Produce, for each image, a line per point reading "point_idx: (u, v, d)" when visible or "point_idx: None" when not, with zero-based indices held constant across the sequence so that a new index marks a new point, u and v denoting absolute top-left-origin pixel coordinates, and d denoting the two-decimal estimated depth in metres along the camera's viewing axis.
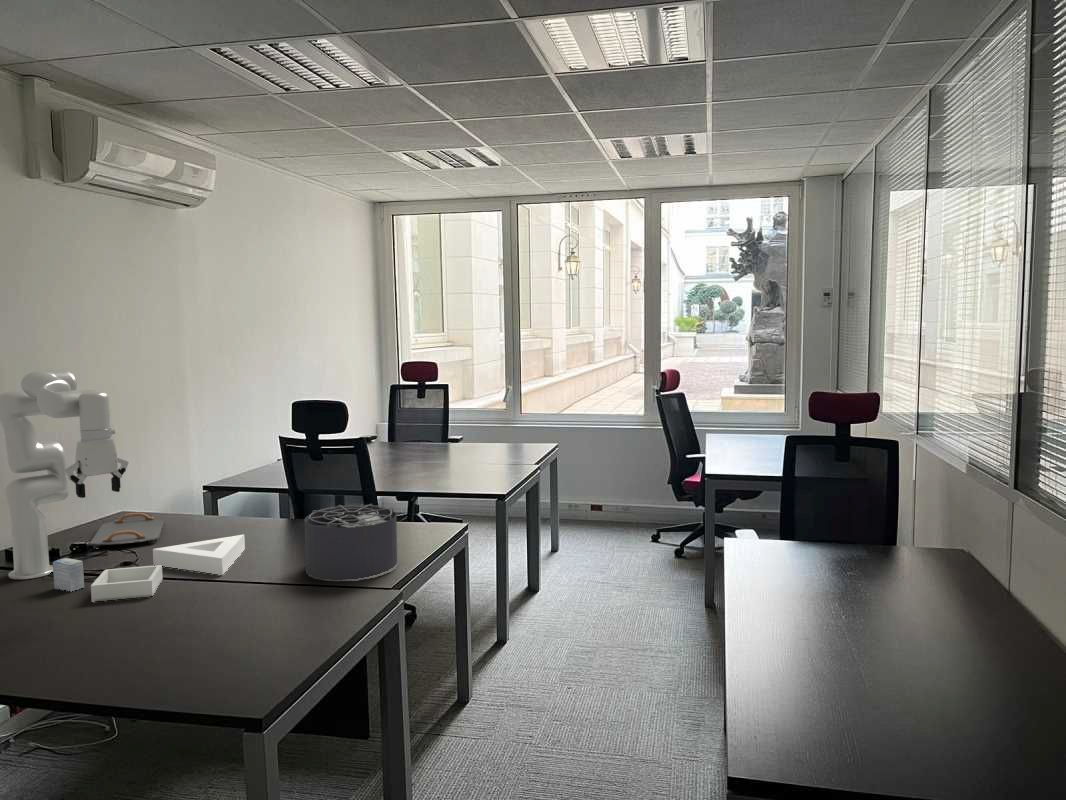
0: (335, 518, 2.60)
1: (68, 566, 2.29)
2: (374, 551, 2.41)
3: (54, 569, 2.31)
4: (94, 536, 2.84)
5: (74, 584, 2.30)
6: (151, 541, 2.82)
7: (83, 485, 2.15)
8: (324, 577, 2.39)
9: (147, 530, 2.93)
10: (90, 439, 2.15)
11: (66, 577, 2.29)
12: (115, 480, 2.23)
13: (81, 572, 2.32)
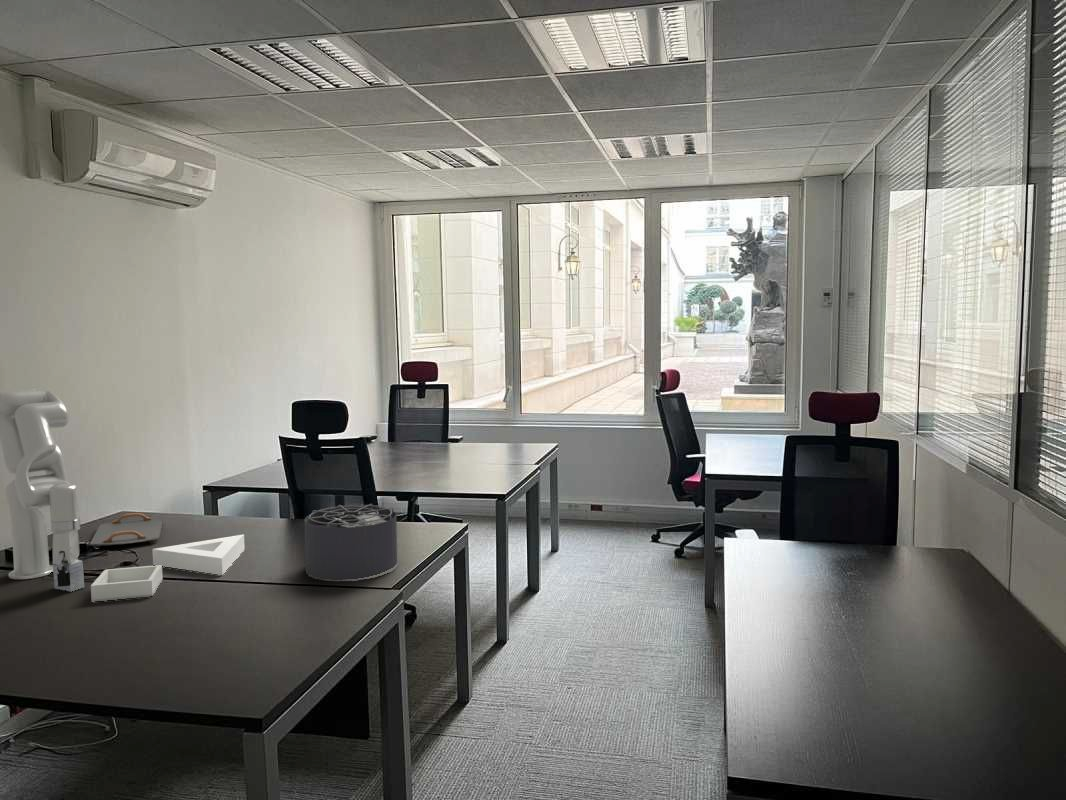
0: (335, 518, 2.60)
1: None
2: (374, 551, 2.41)
3: (54, 569, 2.31)
4: (94, 536, 2.84)
5: (74, 584, 2.30)
6: (152, 541, 2.82)
7: (69, 573, 2.28)
8: (324, 577, 2.39)
9: (146, 530, 2.93)
10: (72, 529, 2.29)
11: None
12: None
13: (81, 572, 2.32)
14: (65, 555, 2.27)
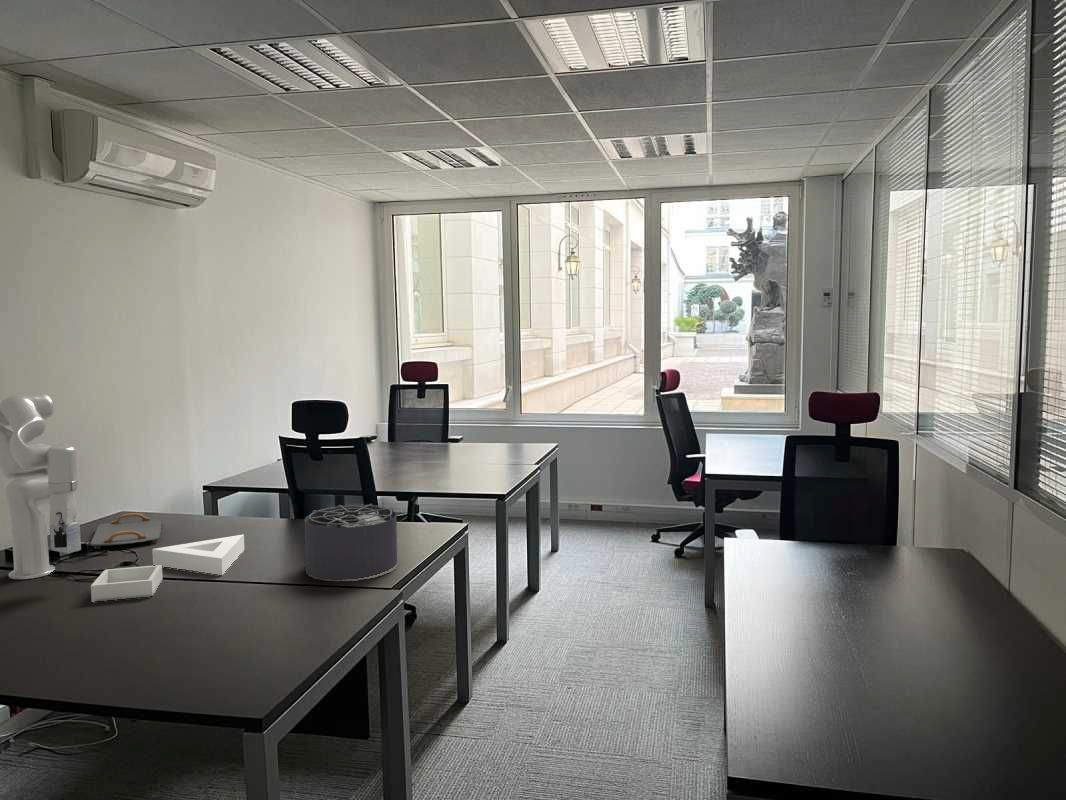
0: (335, 518, 2.60)
1: None
2: (374, 551, 2.41)
3: (51, 530, 2.31)
4: (93, 537, 2.83)
5: (71, 546, 2.29)
6: (152, 541, 2.82)
7: (66, 535, 2.28)
8: (324, 577, 2.39)
9: (146, 530, 2.93)
10: (69, 490, 2.28)
11: None
12: None
13: (78, 534, 2.31)
14: (62, 516, 2.26)
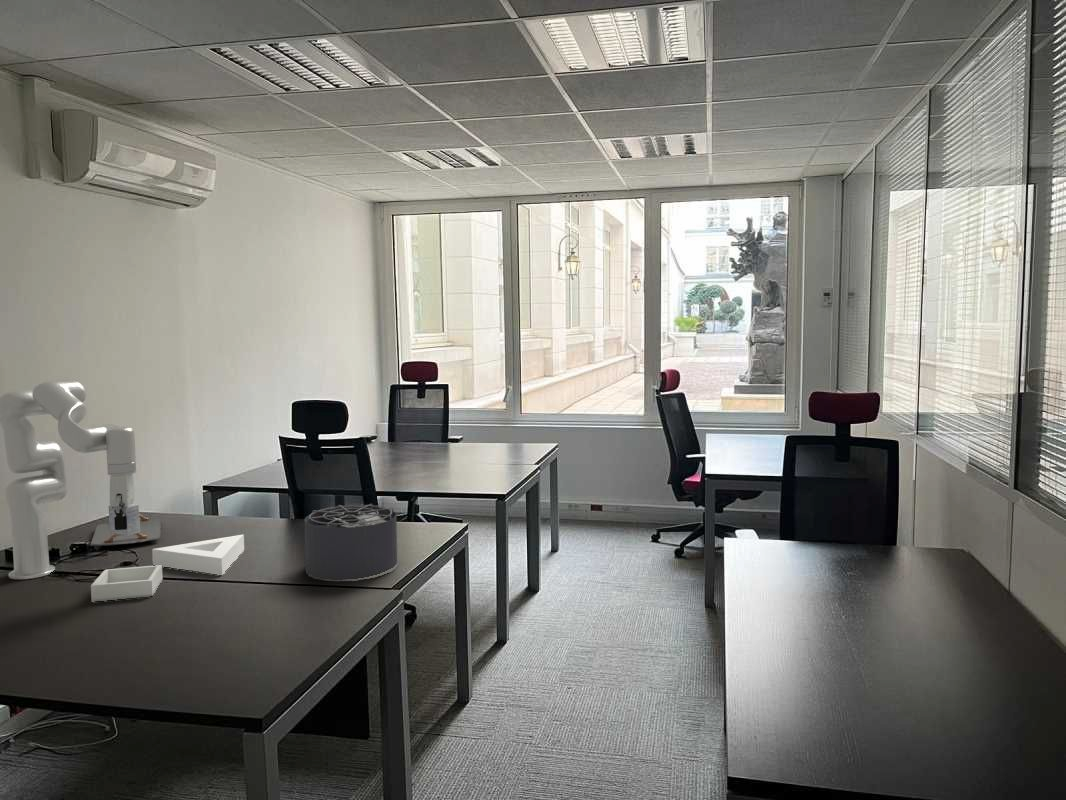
0: (335, 518, 2.60)
1: None
2: (374, 551, 2.41)
3: (110, 513, 2.27)
4: (93, 537, 2.83)
5: (131, 528, 2.26)
6: (153, 541, 2.82)
7: (126, 517, 2.24)
8: (324, 577, 2.39)
9: (146, 530, 2.92)
10: (129, 471, 2.25)
11: None
12: None
13: (137, 516, 2.28)
14: (122, 498, 2.23)
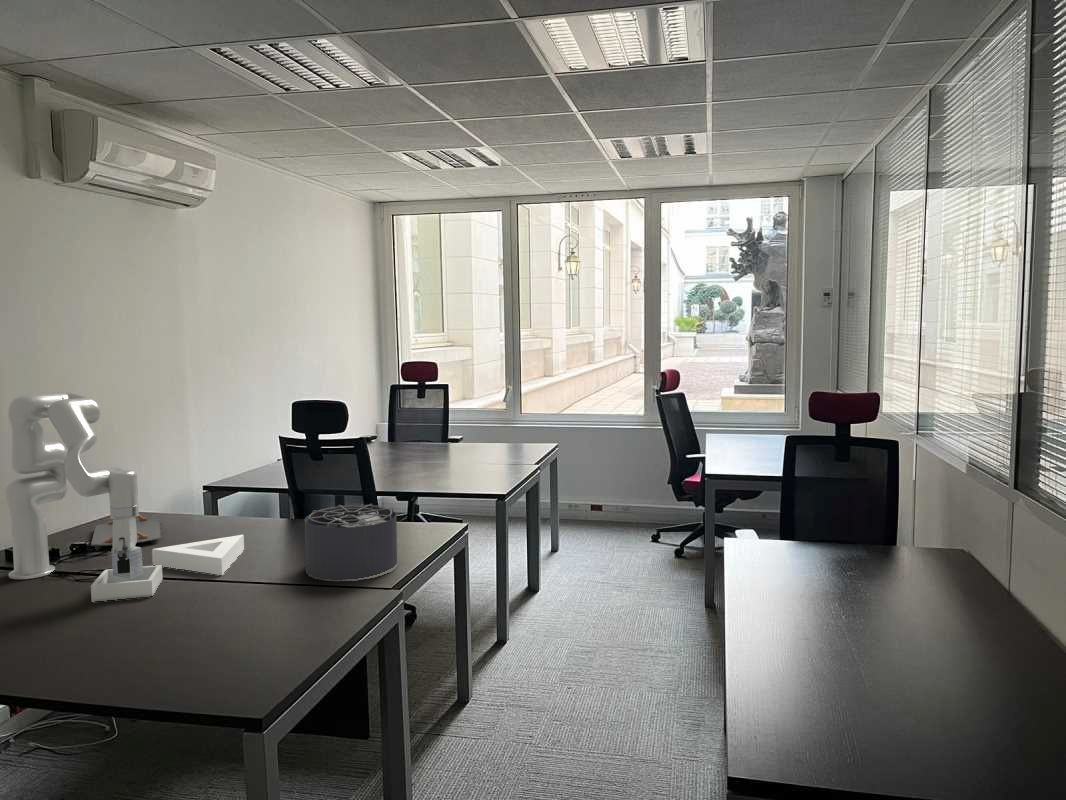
0: (335, 518, 2.60)
1: (128, 552, 2.25)
2: (374, 551, 2.41)
3: (113, 556, 2.28)
4: (93, 537, 2.83)
5: (133, 571, 2.27)
6: (153, 541, 2.82)
7: (129, 560, 2.25)
8: (324, 577, 2.39)
9: (146, 530, 2.92)
10: (131, 515, 2.26)
11: None
12: None
13: (140, 559, 2.29)
14: (125, 542, 2.24)
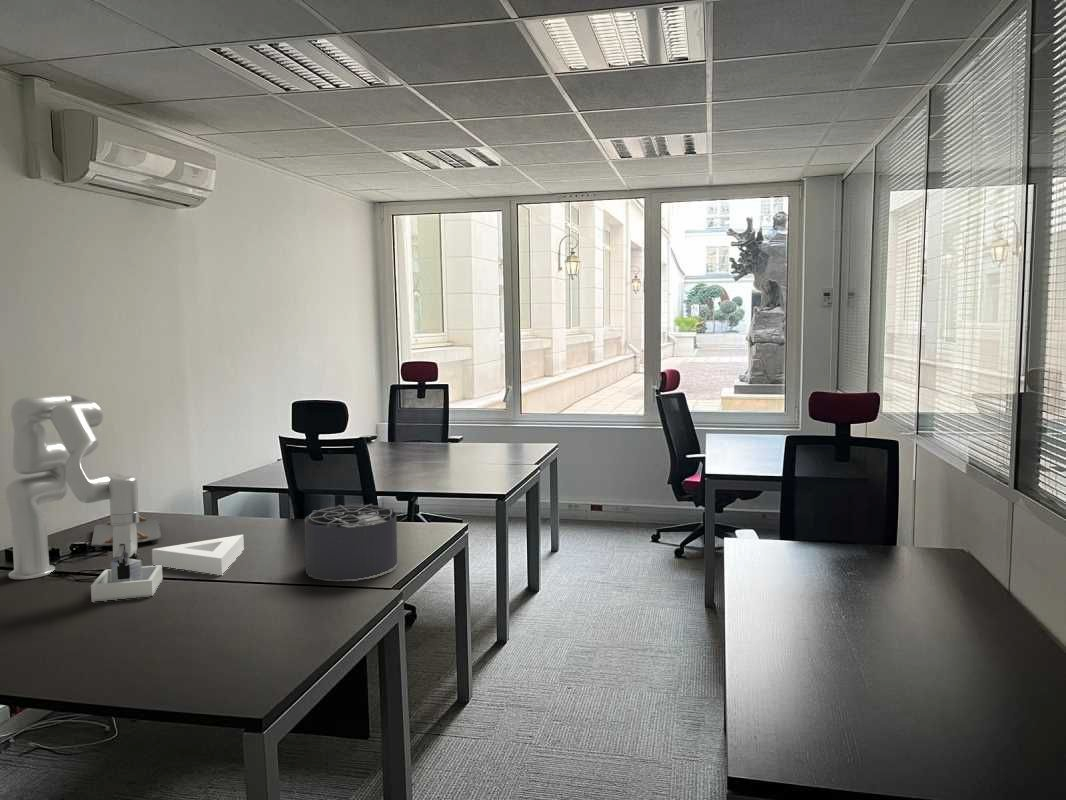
0: (335, 518, 2.60)
1: None
2: (374, 551, 2.41)
3: (112, 569, 2.28)
4: (93, 537, 2.82)
5: None
6: (154, 541, 2.83)
7: (129, 566, 2.25)
8: (324, 577, 2.39)
9: (146, 530, 2.92)
10: (132, 521, 2.26)
11: None
12: (133, 558, 2.34)
13: (140, 571, 2.29)
14: (125, 548, 2.24)
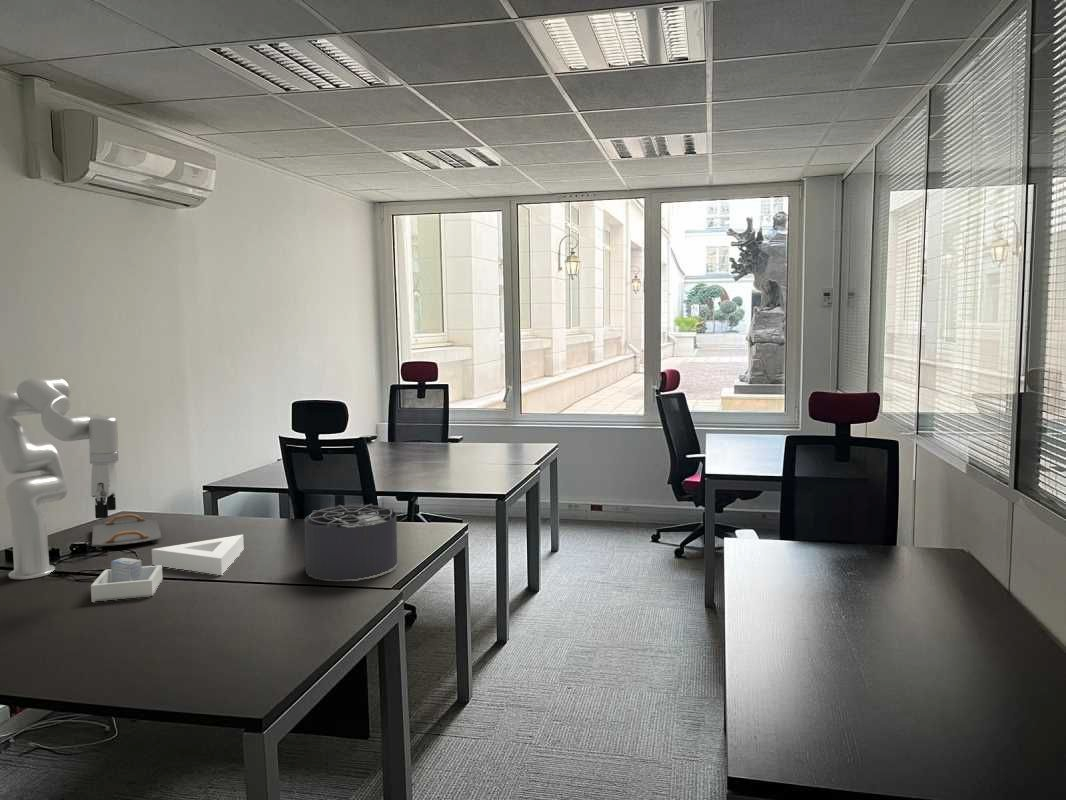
0: (335, 518, 2.60)
1: (128, 566, 2.26)
2: (374, 551, 2.41)
3: (112, 569, 2.28)
4: (92, 538, 2.82)
5: None
6: (154, 541, 2.83)
7: (107, 505, 2.26)
8: (324, 577, 2.39)
9: (145, 530, 2.92)
10: (111, 461, 2.27)
11: (125, 577, 2.27)
12: (112, 499, 2.34)
13: (140, 571, 2.29)
14: (104, 487, 2.25)
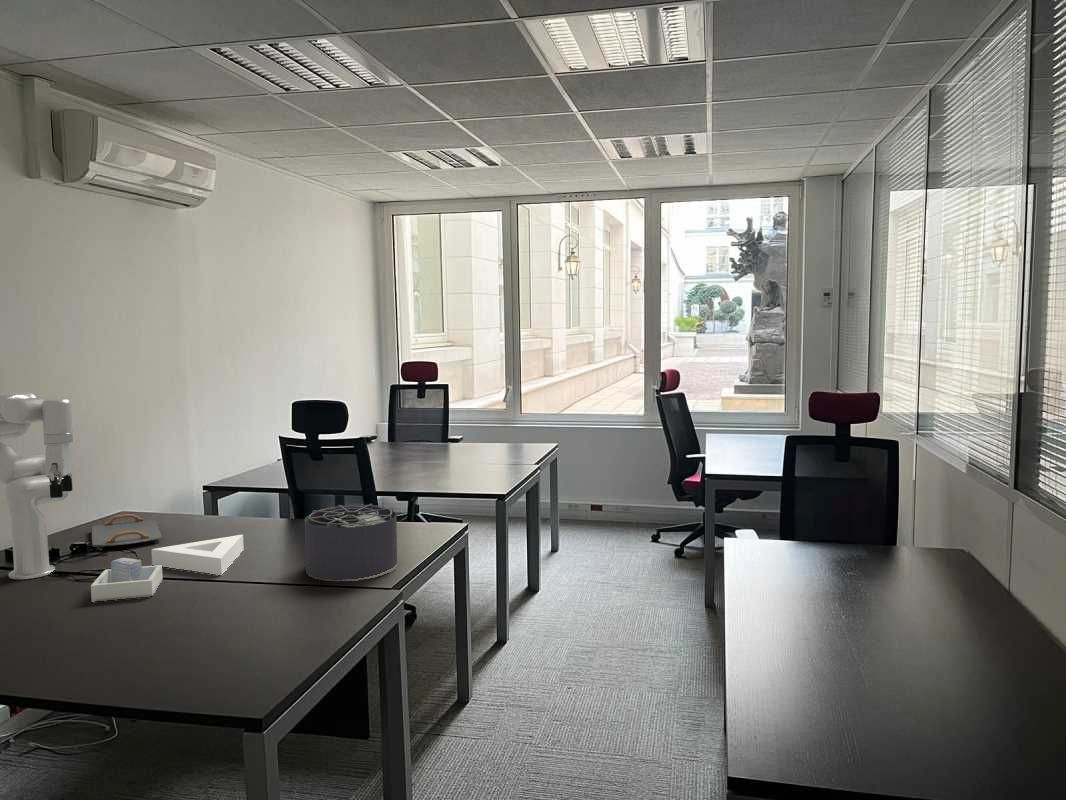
0: (335, 518, 2.60)
1: (128, 565, 2.26)
2: (374, 551, 2.41)
3: (112, 569, 2.28)
4: (92, 538, 2.82)
5: None
6: (155, 540, 2.83)
7: (61, 485, 2.30)
8: (324, 577, 2.39)
9: (145, 530, 2.92)
10: (65, 442, 2.31)
11: (125, 577, 2.27)
12: (68, 481, 2.39)
13: (140, 571, 2.29)
14: (58, 467, 2.29)
